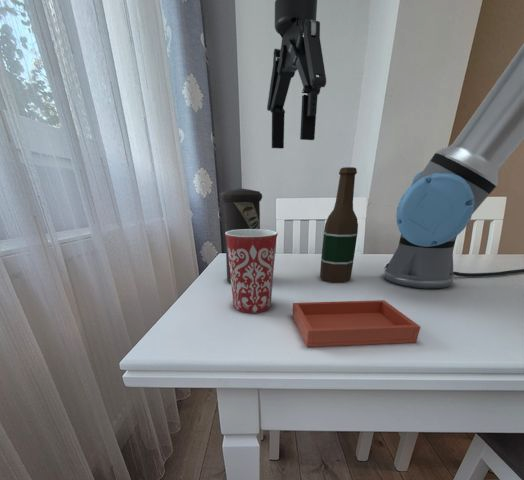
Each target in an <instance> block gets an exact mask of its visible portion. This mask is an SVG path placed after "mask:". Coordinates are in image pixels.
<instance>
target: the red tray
mask: <svg viewBox="0 0 524 480" xmlns="http://www.w3.org/2000/svg"><path fill="white" fill-rule="evenodd" d="M291 315H292V319H293V321H294V323H295V325H296V327H297V329H298V332H299V333H300V336H301V339H302V340H303V342H304V344H305V347H306V348H317V347H318V348H319V347H341V346H345V347H346V346H365V345H387V344H389V345H390V344H413V343H417V341H418V339H419V335H420V331H421V326H420V324H417V322H415V321H414V320H413V319H411V318H409V317H408V316H407V315H405V314H404V313H403V312H401V310H400V311H399V309H397V308H396V307H395V306H394V305H391V303H389V302H388V301H386V300H385V299H381V300H380V299H378V300H377V299H375V300H347V301H345V300H344V301H343V300H342V301H311V302H308V301H307V302H293V303H292V314H291Z"/></svg>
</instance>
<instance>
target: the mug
mask: <svg viewBox="0 0 524 480" xmlns="http://www.w3.org/2000/svg"><path fill="white" fill-rule="evenodd" d="M225 235H226V237H225V239H226V238H227V247H228V258H229V267H230V277H231V283H230V287H231V295H232V296H231V297H232V306H233V308H234V309H235V310H236V311H238V312H242V313H246V314H247V313H248V314H258V313H263V312H266V311H268V310H269V309H270V308H271V305H272V297H273V296H272V294H273V283H274V270H275V259H276V247H277V246H276V245H277V237H278V235H279V233H278V232H277V231H275V230H270V229H263V228H262V229H261V228H260V229H239V230H231V231H227V232H226V233H225V232H224V236H225Z"/></svg>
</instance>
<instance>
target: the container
mask: <svg viewBox="0 0 524 480" xmlns="http://www.w3.org/2000/svg"><path fill="white" fill-rule="evenodd" d="M219 197H220V200H221V201H222V202H223V213H224V214H223V215H224V237H225V258H226V259H225V260H226V281H227V282H228V283H230V284H231V277H230V267H229V258H228V247H227V238H226V235H225V233H226V232H227V231H231V230H239V229H261V220H260V219H261V208H260V207H261V205H260V202H261V201H262V199H263V194H262V192H260V191H259V190H254V189H250V188H249V189H248V188H235V189H229V190H224V191H222V192H221V193H220V195H219Z"/></svg>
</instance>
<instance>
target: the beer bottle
mask: <svg viewBox="0 0 524 480" xmlns="http://www.w3.org/2000/svg"><path fill="white" fill-rule="evenodd" d="M338 174H339V180H338V186H337V190H336V191H337V192H336V198H335V202H334V207H333V209H332V211H331V212H330V214H329V215H328V217H327V219H326V221H325V223H324V230H323V238H322V248H321V259H320V269H319V277H320V279H321V281H324V282H328V283H333V284H335V283H336V284H337V283H338V284H339V283H340V284H341V283H346V282H348V281H351V277H352V273H353V265H354V259H355V253H356V247H357V238H358V234H359V233H358V232H359V221H358V217H357V215H356V213H355V210H354V193H355V181H356V180H355V179H356V175H357V174H358V169H357V168H356V167H354V166H350V167H349V166H347V167H345V166H344V167H341V168H340V169H339V172H338Z"/></svg>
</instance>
